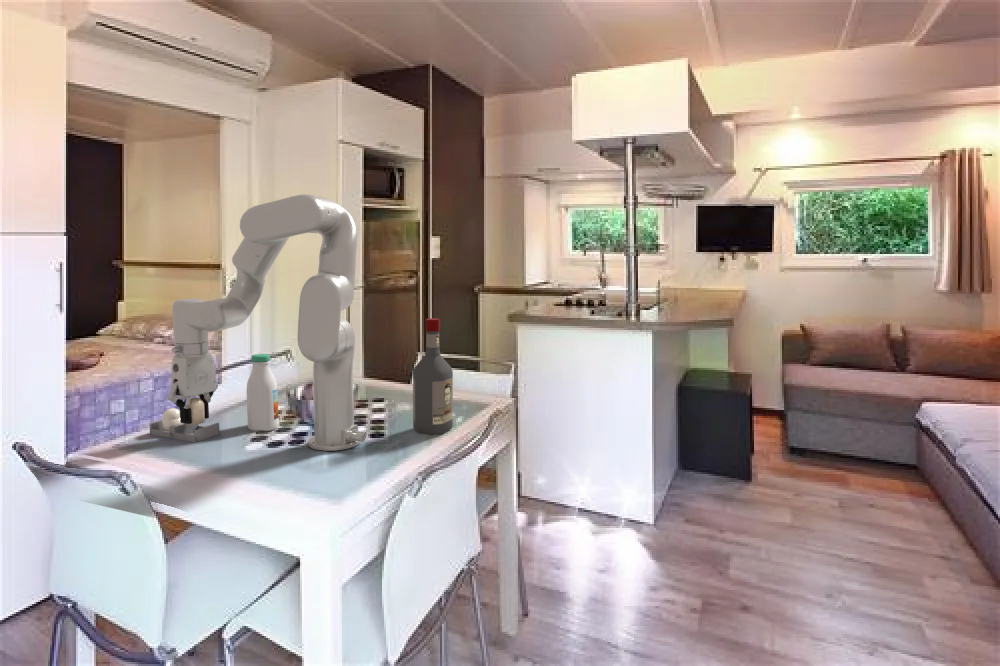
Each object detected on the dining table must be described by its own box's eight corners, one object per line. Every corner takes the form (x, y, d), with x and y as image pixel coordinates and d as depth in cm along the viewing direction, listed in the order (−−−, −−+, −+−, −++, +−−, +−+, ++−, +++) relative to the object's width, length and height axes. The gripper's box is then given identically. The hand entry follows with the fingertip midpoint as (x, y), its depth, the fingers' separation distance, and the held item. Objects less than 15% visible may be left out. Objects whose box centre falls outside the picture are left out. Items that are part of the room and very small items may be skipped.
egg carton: (219, 436, 156) (219, 422, 156) (195, 444, 149) (195, 430, 149) (175, 428, 162) (174, 416, 161) (150, 436, 155) (149, 423, 154)
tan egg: (209, 420, 155) (208, 396, 154) (194, 425, 151) (193, 400, 150) (195, 418, 156) (194, 394, 156) (180, 423, 152) (179, 398, 151)
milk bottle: (268, 433, 159) (265, 358, 156) (241, 431, 160) (238, 356, 158) (284, 425, 166) (281, 353, 164) (259, 423, 168) (256, 351, 165)
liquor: (409, 431, 162) (408, 319, 158) (427, 423, 170) (427, 316, 166) (438, 436, 158) (438, 322, 154) (456, 427, 166) (456, 318, 162)
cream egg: (187, 430, 158) (186, 407, 157) (172, 435, 154) (170, 411, 153) (174, 428, 160) (172, 405, 159) (158, 433, 155) (157, 409, 155)
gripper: (173, 355, 142) (177, 431, 144) (229, 345, 157) (232, 414, 160) (150, 352, 144) (154, 427, 147) (207, 343, 160) (210, 410, 163)
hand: (194, 419), depth 153 cm, fingers closed on tan egg, 4 cm apart
